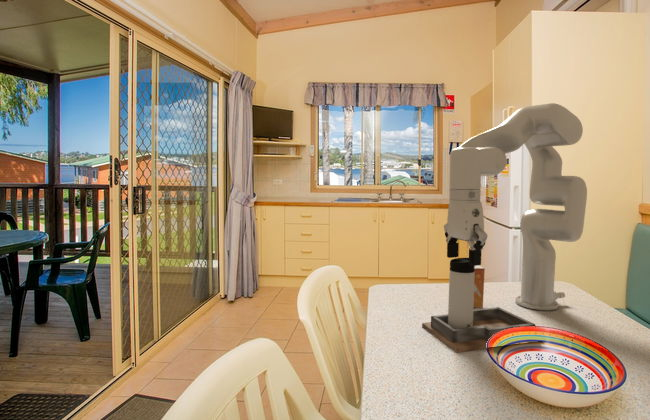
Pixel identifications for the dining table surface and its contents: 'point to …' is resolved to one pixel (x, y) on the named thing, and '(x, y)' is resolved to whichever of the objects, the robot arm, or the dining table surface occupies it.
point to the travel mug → (461, 293)
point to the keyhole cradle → (474, 328)
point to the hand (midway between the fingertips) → (463, 261)
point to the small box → (478, 286)
